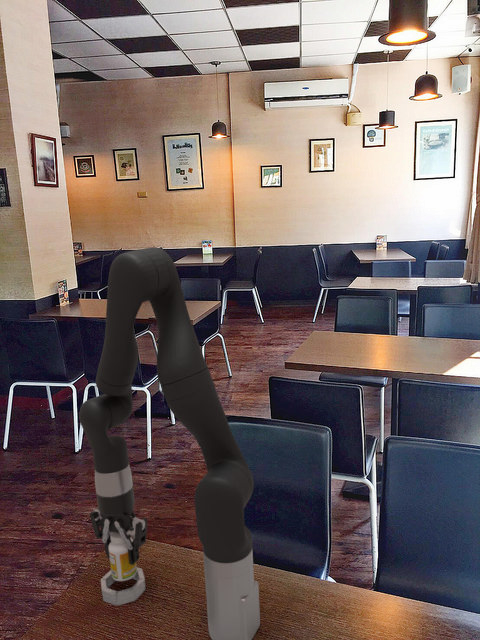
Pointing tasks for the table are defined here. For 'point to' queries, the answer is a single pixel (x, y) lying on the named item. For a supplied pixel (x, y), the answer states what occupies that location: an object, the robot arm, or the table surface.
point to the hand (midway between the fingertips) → (122, 559)
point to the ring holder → (122, 595)
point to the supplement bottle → (120, 559)
